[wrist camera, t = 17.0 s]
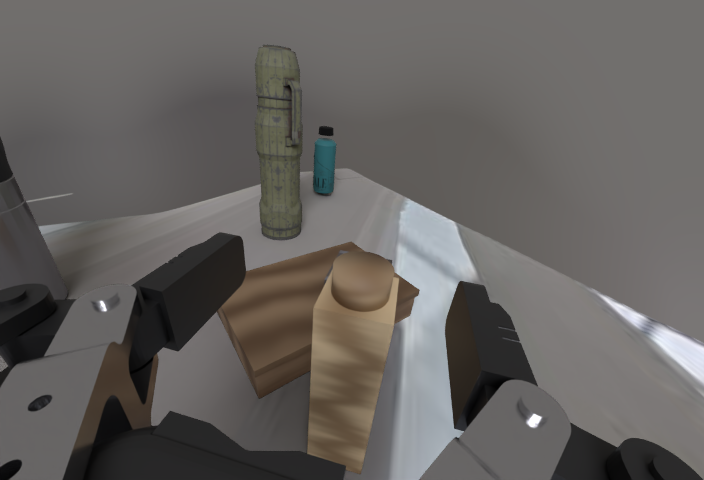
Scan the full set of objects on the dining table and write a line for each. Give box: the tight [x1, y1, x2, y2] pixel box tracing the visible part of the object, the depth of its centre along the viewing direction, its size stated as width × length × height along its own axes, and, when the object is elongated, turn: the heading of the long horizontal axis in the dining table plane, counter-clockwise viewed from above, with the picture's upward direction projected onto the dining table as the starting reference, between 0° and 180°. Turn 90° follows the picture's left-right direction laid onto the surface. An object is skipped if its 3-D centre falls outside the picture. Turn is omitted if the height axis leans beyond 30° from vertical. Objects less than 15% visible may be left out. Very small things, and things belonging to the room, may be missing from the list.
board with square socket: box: [217, 242, 420, 399], centre depth 41 cm, size 17×25×8 cm
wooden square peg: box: [307, 251, 399, 474], centre depth 23 cm, size 5×5×20 cm
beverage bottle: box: [313, 126, 336, 193], centre depth 84 cm, size 6×7×20 cm
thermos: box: [255, 45, 302, 240], centre depth 57 cm, size 9×12×35 cm
